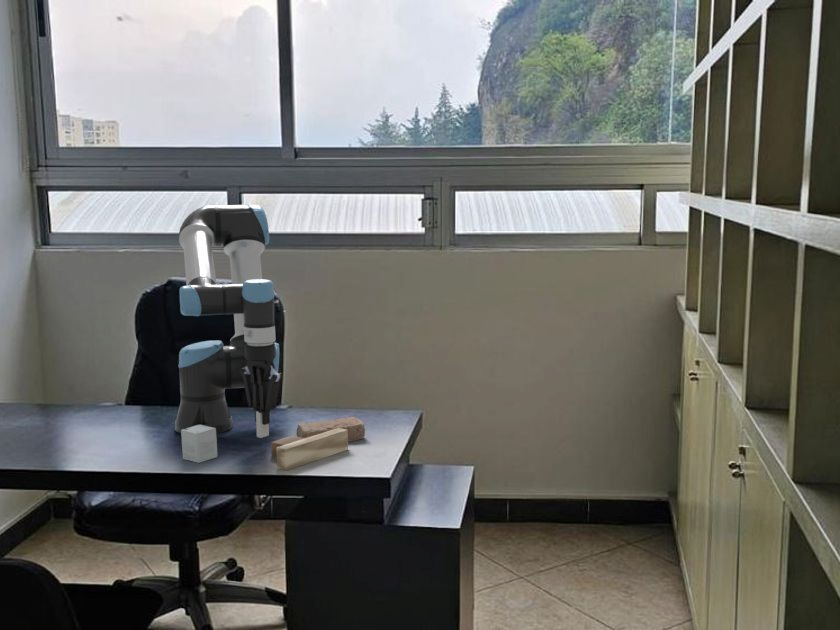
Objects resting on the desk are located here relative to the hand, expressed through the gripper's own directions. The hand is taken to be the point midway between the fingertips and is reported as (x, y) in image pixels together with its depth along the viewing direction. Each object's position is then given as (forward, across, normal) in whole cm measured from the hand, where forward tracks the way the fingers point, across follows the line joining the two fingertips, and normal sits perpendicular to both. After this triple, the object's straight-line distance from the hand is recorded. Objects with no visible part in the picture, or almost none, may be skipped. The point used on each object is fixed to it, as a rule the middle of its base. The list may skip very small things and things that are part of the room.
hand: (262, 436), depth 221 cm
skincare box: (+3, -6, -14) cm, 16 cm away
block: (+3, +10, 0) cm, 11 cm away
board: (+3, +16, +2) cm, 16 cm away
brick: (+4, +8, +16) cm, 18 cm away
